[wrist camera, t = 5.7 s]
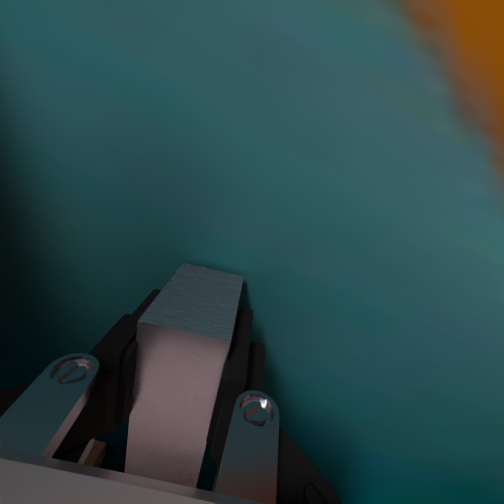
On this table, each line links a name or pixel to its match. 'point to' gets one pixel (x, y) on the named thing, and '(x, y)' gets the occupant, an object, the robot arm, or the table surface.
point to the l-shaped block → (180, 373)
